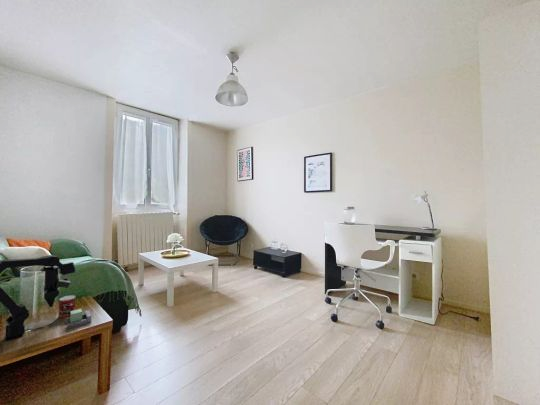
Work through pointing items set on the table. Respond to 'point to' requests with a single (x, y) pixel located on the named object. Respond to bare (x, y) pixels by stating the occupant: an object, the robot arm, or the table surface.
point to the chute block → (75, 315)
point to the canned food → (66, 306)
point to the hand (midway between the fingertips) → (50, 304)
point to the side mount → (81, 322)
